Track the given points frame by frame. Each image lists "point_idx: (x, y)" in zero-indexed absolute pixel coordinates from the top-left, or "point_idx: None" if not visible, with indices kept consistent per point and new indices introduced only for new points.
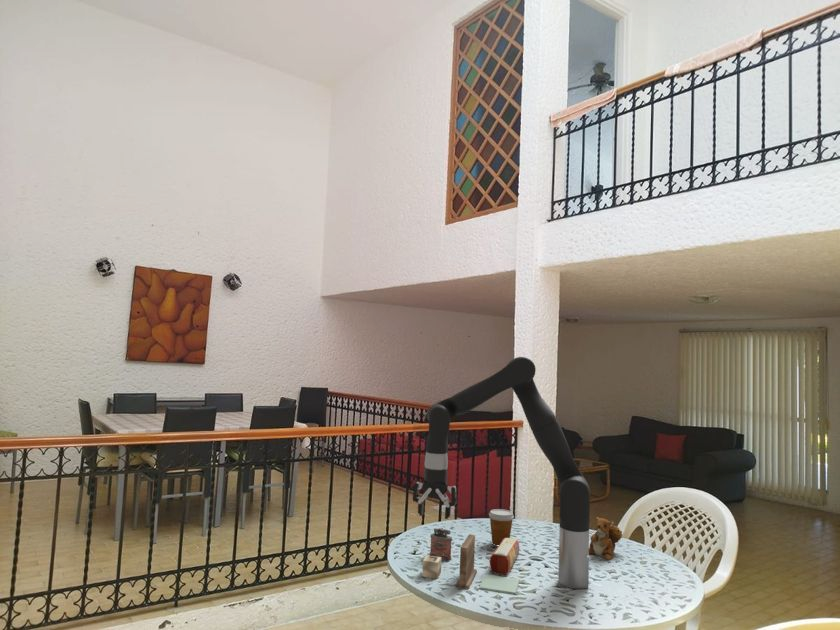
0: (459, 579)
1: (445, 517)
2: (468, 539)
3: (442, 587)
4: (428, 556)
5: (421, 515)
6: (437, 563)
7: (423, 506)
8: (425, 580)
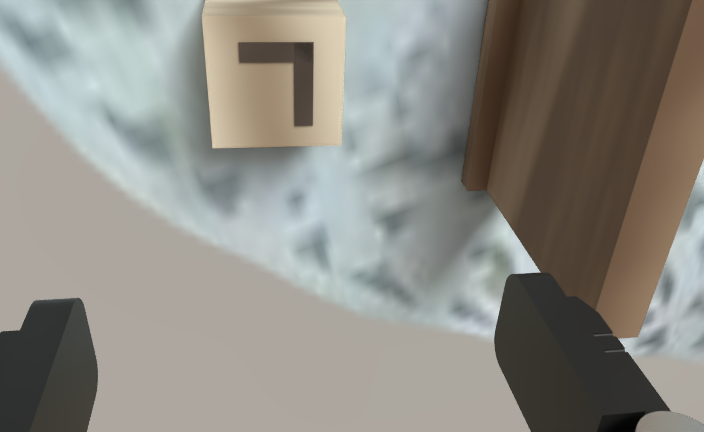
0: (496, 204)
1: (509, 369)
2: (682, 118)
3: (385, 211)
4: (226, 41)
5: (96, 383)
6: (337, 142)
7: (40, 409)
8: (261, 157)
